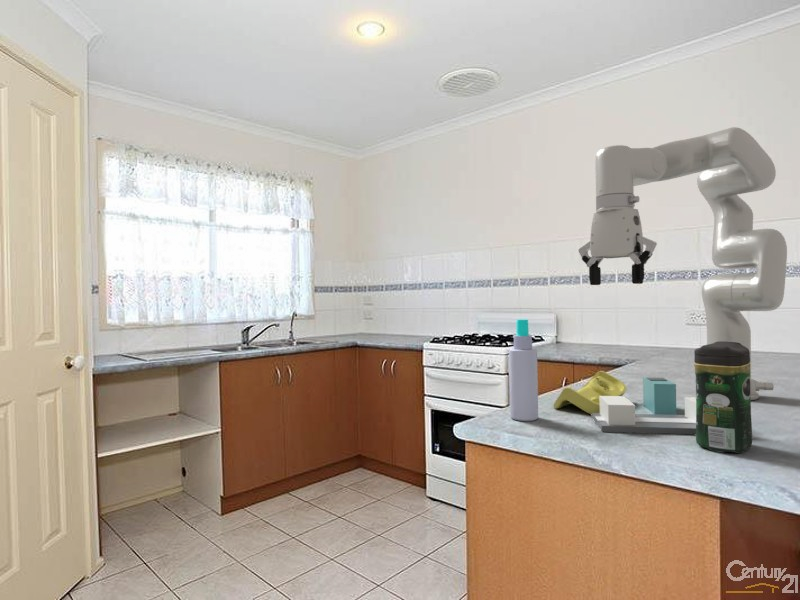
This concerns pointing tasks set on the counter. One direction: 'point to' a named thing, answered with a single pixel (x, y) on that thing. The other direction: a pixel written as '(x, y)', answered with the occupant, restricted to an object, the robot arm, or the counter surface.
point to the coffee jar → (723, 397)
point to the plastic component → (591, 393)
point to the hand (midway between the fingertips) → (615, 284)
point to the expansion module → (659, 395)
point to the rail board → (643, 418)
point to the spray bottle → (523, 375)
